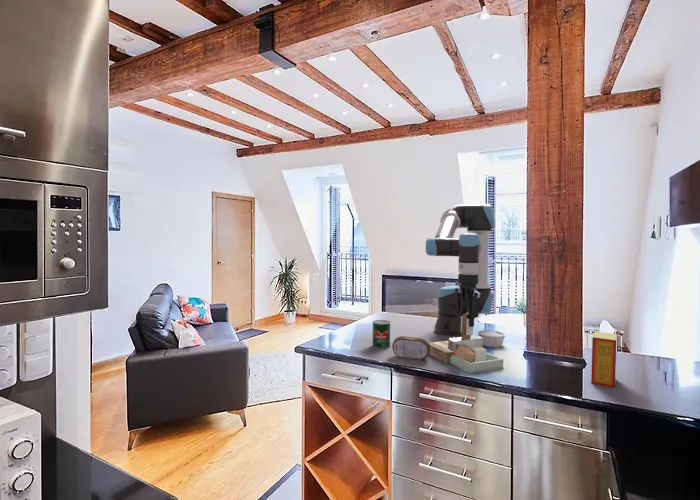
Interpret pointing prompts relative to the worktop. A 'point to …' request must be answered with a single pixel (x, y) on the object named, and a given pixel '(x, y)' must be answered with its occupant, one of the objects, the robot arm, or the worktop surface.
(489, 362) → the box
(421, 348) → the tin
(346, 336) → the worktop surface
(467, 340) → the scraper
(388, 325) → the canned tomato
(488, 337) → the ramekin
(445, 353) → the tan flat block
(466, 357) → the terracotta block
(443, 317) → the robot arm
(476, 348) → the cream block
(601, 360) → the baking soda box
